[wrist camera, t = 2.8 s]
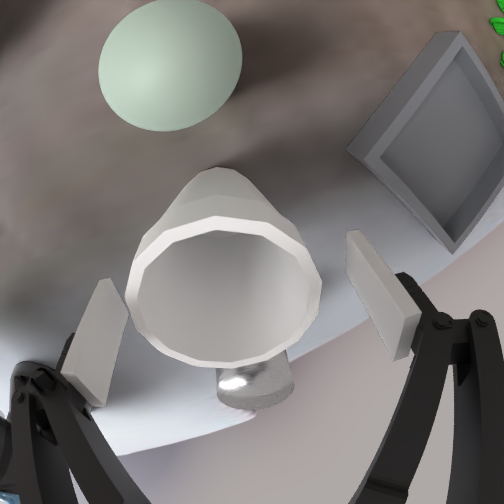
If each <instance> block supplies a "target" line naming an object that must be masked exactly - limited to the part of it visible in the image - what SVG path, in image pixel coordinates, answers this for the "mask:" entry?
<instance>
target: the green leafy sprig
mask: <svg viewBox="0 0 504 504" xmlns="http://www.w3.org/2000/svg"><path fill="white" fill-rule="evenodd" d="M496 1H497V2H498V5H499V7H500V9H501V10H502V11H503V13H504V0H496ZM490 25H492V26H493V25H494V28H495V30H496V32H497V33H499V34H501V35H504V18H491V19H490ZM502 58H503V61H502V59H501V60H500V62H501V64H502V66H503V67H504V64H503V62H504V52H503V55H502Z"/></svg>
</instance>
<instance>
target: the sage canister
mask: <svg viewBox="0 0 504 504" xmlns="http://www.w3.org/2000/svg"><path fill="white" fill-rule="evenodd" d="M241 67H242V48H241V44H240V40H239V37H238V35H237V32H236V30H235V29H234V27H233V25H232V24H231V23H230V21H229V20H228V19H227V18H226V17H225V16H224V15H223V14H222V13H221V12H219V11H218V10H217V9H215V8H213V7H212V6H210V5H208V4H205V3H203V2H200V1H197V0H158V1H154V2H151V3H149V4H146V5H144V6H142V7H140V8H138V9H136V10H135V11H133V12H132V13H130V14H129V15H128V16H126V17H125V18H124V19H123V20H122V21H121V22H120V23H119V24H118V25H117V26H116V27H115V28H114V30H113V31H112V32H111V34H110V35H109V37H108V39H107V41H106V42H105V45H104V47H103V50H102V53H101V56H100V61H99V81H100V86H101V90H102V93H103V95H104V97H105V99H106V101H107V103H108V104H109V106H110V107H111V108H112V109H113V110H114V112H115V113H116V114H117V115H119V116H120V117H121V118H122V119H124V120H125V121H127V122H128V123H130V124H132V125H135V126H137V127H140V128H143V129H147V130H152V131H174V130H179V129H183V128H187V127H190V126H192V125H195V124H197V123H199V122H201V121H203V120H204V119H206V118H208V117H209V116H211V115H212V114H213V113H215V112H216V111H217V110H218V109H219V108H220V107H221V106H222V105H223V104H224V103H225V102H226V100H227V99H228V98H229V97H230V95H231V93H232V92H233V90H234V88H235V86H236V84H237V82H238V79H239V76H240V73H241Z"/></svg>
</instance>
